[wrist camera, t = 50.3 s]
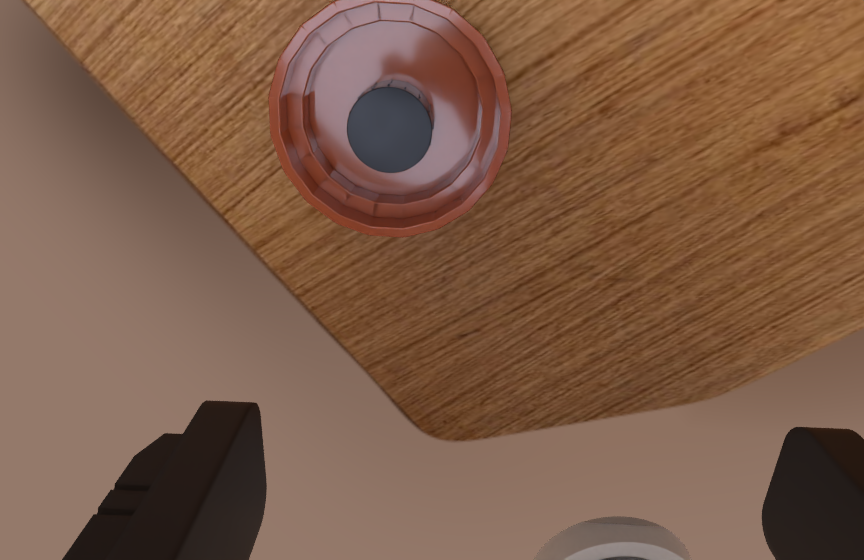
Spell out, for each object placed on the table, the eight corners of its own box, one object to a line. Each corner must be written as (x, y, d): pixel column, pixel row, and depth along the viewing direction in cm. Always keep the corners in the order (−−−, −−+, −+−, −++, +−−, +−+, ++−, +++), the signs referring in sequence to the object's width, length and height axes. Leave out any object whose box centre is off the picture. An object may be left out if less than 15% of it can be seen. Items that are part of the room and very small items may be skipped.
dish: (492, 220, 34) (497, 243, 30) (290, 208, 34) (274, 229, 30) (515, -1, 29) (524, -2, 26) (282, -16, 29) (262, -18, 26)
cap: (441, 151, 32) (440, 164, 29) (365, 167, 32) (358, 181, 29) (424, 70, 30) (422, 77, 27) (344, 88, 30) (335, 96, 28)
